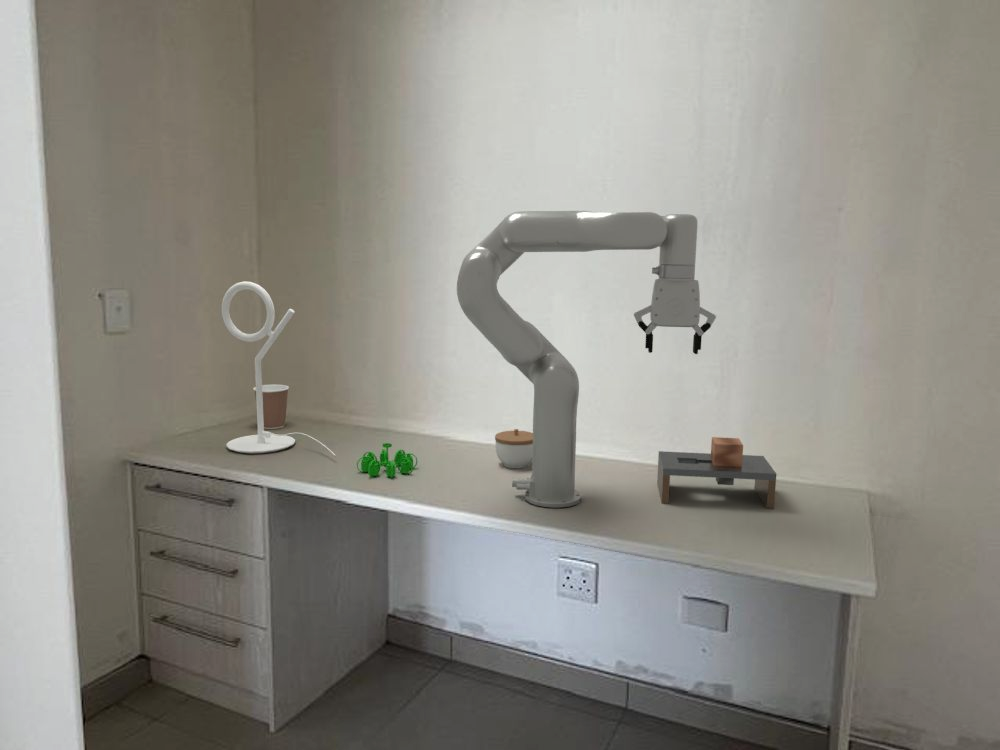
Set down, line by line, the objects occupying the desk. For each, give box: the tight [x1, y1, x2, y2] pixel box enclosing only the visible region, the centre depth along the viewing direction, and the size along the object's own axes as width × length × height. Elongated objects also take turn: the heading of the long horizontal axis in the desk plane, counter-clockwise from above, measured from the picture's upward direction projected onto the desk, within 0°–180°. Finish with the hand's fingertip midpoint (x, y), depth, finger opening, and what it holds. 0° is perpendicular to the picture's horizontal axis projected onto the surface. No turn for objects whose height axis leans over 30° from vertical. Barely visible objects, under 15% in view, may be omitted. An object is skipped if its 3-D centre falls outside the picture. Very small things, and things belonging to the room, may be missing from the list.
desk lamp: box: [221, 280, 337, 458], centre depth 210 cm, size 37×18×45 cm, turn 73°
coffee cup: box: [252, 384, 290, 430], centre depth 237 cm, size 10×10×12 cm
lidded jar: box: [494, 428, 533, 469], centre depth 201 cm, size 11×11×9 cm
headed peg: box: [710, 436, 744, 486], centre depth 178 cm, size 6×6×10 cm
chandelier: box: [356, 442, 418, 479], centre depth 195 cm, size 15×15×7 cm
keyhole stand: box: [656, 451, 777, 510], centre depth 179 cm, size 24×14×8 cm, turn 83°
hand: (672, 352), depth 171 cm, fingers open, 9 cm apart
